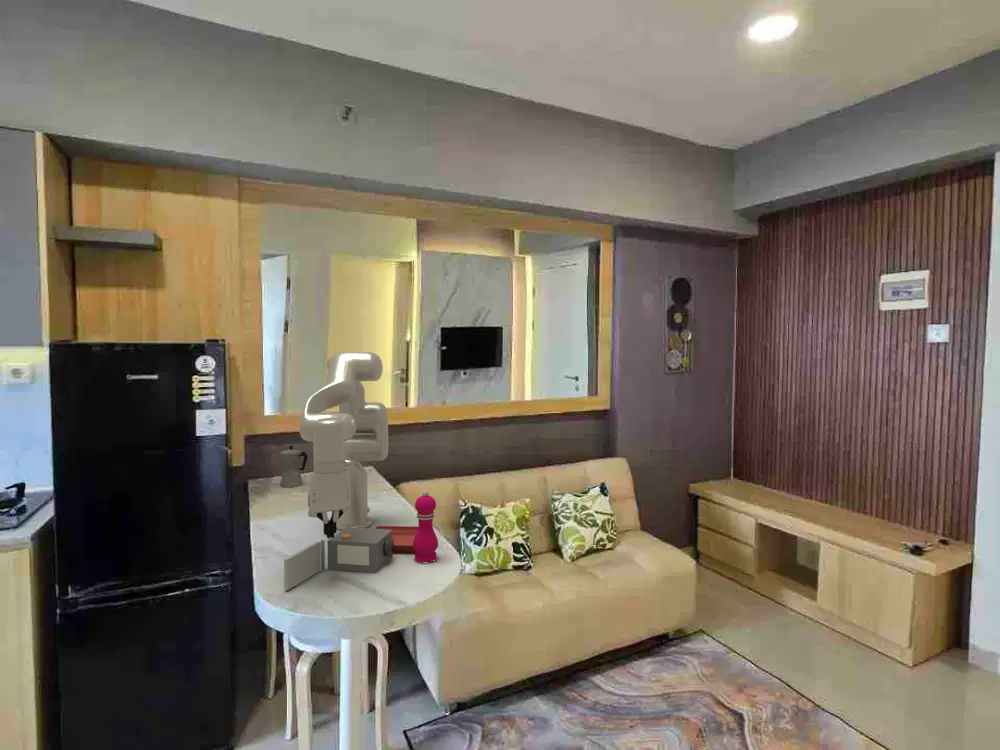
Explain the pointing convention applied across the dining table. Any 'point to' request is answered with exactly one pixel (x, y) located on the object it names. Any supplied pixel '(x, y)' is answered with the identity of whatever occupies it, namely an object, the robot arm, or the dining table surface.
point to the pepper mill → (425, 529)
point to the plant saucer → (402, 537)
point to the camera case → (360, 549)
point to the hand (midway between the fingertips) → (330, 536)
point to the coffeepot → (292, 467)
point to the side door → (304, 564)
